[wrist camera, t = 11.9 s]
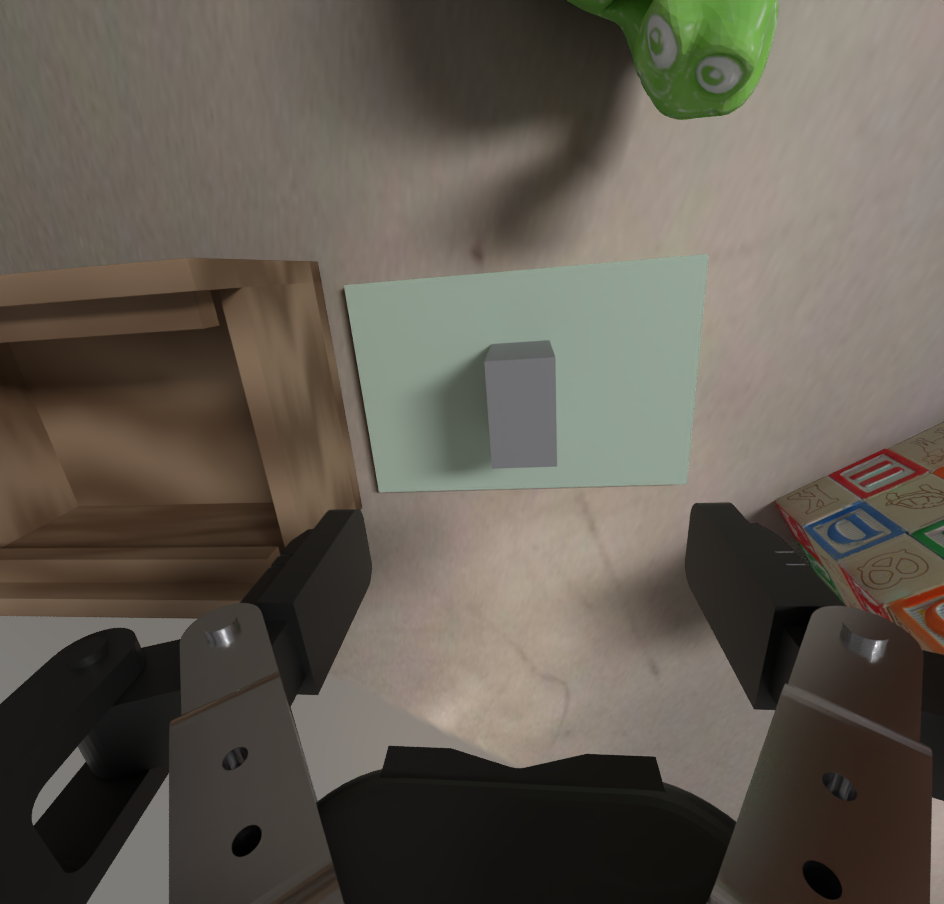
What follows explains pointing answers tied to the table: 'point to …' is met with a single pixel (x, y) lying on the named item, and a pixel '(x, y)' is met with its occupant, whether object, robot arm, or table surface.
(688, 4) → the turtle holder
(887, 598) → the stack of blocks
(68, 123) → the table surface
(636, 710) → the table surface
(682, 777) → the table surface
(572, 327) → the lid
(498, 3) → the table surface
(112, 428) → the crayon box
